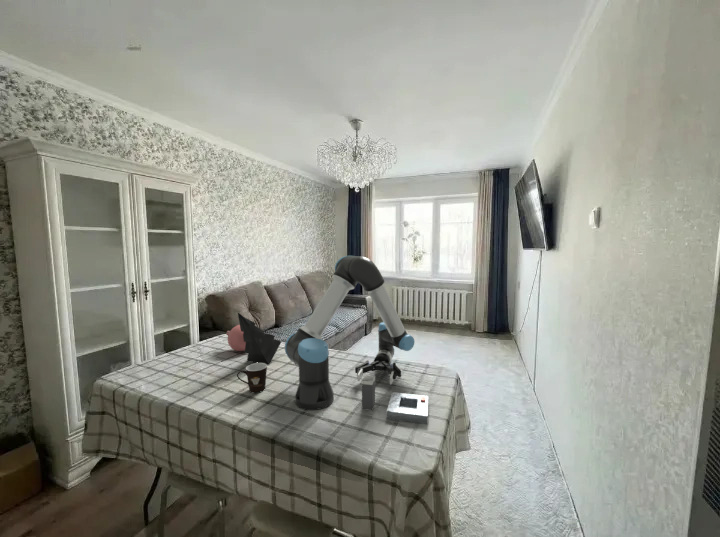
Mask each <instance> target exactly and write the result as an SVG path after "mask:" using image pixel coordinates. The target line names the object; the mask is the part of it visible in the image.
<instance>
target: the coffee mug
mask: <svg viewBox="0 0 720 537" xmlns="http://www.w3.org/2000/svg"><path fill="white" fill-rule="evenodd" d="M267 368H268V364H265V363H255V362H254V363H251V364H248V365H247V366H245V370H240V371H238V372H237V374H236V378H237V380H239V381H241V382H242V383H245V384H246V385H247V386H248V388H249V392H250V391H251V392H259V393H261V392H260V391H262V392H264V391H265V390H266V382H267V373H268V372H267V370H268V369H267ZM241 373H243V374H245V375H246V378H247V381H245V380H243V379H242V378H241V377H239V375H240V374H241ZM264 389H265V390H264ZM263 390H264V391H263ZM251 392H250V393H251Z"/></svg>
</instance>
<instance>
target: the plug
mask: <svg viewBox="0 0 720 537" xmlns="http://www.w3.org/2000/svg"><path fill="white" fill-rule="evenodd" d="M363 375H364V376H362V379H361V410H366V411H374V408H375V405H376V376H375V375H366V374H363Z"/></svg>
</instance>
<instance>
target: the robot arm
mask: <svg viewBox="0 0 720 537" xmlns="http://www.w3.org/2000/svg"><path fill="white" fill-rule="evenodd" d="M332 279H333V280H332V281H331V283H330V285H329V286H328V289H327V290H326V292H324V294H323V296H322V298H321V299H320V301H319V302H318V304H317V305H316V307H315V309H314V310H313V312H312V313H311V315H310V317H308V320H307V322H306V323H305V324H304V325H302V326H300V327H299V328H298V329H297V331H296V332H295V333H293V334H290V336H288V337H287V339H286V341H285V343H284V351H285V354H286V356H287V357H288V358H287V359H289V360H290V361H291V362H293V363H294V364H295V366H297V367H298V380H299V381H298V385H297V389H296V393H295V394H294V395H295V396H294V401H295V405H296V406H297V407H298V408H300V409H303V410H309V411H311V410H315V411H316V410H320V409H323V408H326V407H328V406H330V405H331V404H332V403H333V402H334V398H335V396H334V391H333V388H332V385H331V382H330V369H329V368H330V366H329V362H330V360H329V359H330V358H329V354H330V352H329V345H328V343H327V342H326V341H325V340H323V339H322V338H323V337H322V336H323V334H324V332H325V330H326V329H327V327H328V326H329V324H330V322H331V321H332V319H333V318H334V316H335V315H336V312H337V311H338V309H339V307H340V306H341V305H342V303H343V301H344V299H346V296H347V295H348V293H349V291H351V290H354V289H355V288H356V286H357V284H360V285H361V286H362V288H363V290H364V291H365V292H366V293H368V294H369V296H370V298H371V300H372V303H373V304H374V306H375V308H376V310H377V312H378V314H379V316H380V318H381V320H382V322H380V323H378V330H377V331H378V352H377V354H376V355H375V357H374V360H373V361H372V362H370V361H369V360H366V361H365V362H363V363H361V364H358V365H357V366H355V368H354V369H355V370H354V372H355V374H356V377H357V382H360V381H361V380H362V379H361V378H363V375H364V374H366V373H368V372H371V371H372V372H376V371H380V372H385V373H388V374H389V375H390V376H389V385H393V382H394V380H397V377H398V378H401V377H402V371H401V369H400V368H399V367H398V366H397V365H396V362H393V363H392V364H391V362H392V360H393V357H394V355H395V348H397V349H399V350H400V351H401V350H402V351H404V352H410V351H411V350H412V349H414V347H415V346H414V345H415V339H414V336H413V335H411V334H409V333H407V331H406V329H405V327H404V325H403V322H402V320H401V318H400V316H399V313H398V312H397V310H396V308H395V306H394V304H393V301H392V299H391V297H390V295H389V293H388V291H387V289H386V287H385V285H384V284H385V278H384V277H383V275H382V273H381V271H380V270H379V268H378V267H377V265H376V264H375V262H373V261H372V260H371V258H368V257H366V256H361V255H360V256H357V255H356V256H355V255H345V256H342V257H340V258H339V259H338V260H337V261H336V263H335V265H334V272H333V274H332Z"/></svg>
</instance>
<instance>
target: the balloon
mask: <svg viewBox="0 0 720 537" xmlns="http://www.w3.org/2000/svg"><path fill="white" fill-rule="evenodd" d="M225 334H226V336H227V343H228V345H229V347H230V348H231V349H232V350H233V351H237V352H244V351H245V345H246V342H244V339H243V332H241V329H240V324H237V325H235V326H234V327H233V328H231V330H227V331H226V333H225Z"/></svg>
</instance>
